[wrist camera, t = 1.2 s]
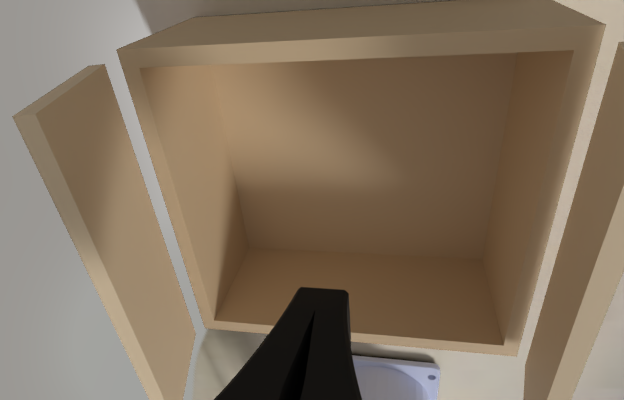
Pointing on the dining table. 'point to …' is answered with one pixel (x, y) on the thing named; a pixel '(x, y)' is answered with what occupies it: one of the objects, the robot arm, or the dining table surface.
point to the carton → (368, 160)
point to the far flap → (112, 224)
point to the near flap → (584, 257)
